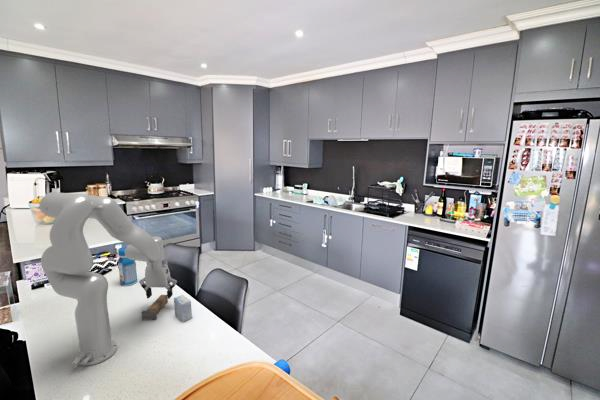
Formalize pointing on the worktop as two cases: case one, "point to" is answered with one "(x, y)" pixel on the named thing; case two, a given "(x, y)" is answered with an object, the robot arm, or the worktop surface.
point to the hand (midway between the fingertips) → (159, 297)
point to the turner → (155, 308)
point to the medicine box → (182, 308)
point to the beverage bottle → (126, 269)
